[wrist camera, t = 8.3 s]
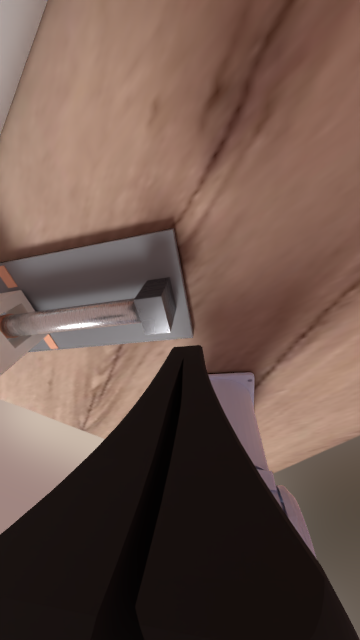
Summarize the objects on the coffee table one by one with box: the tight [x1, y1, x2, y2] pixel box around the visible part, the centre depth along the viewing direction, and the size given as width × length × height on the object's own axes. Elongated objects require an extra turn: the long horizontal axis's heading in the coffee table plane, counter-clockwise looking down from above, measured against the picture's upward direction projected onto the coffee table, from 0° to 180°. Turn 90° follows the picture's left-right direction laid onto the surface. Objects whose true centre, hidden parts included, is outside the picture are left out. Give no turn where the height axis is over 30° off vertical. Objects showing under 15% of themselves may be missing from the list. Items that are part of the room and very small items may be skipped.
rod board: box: [0, 228, 193, 352], centre depth 17 cm, size 10×24×5 cm, turn 101°
